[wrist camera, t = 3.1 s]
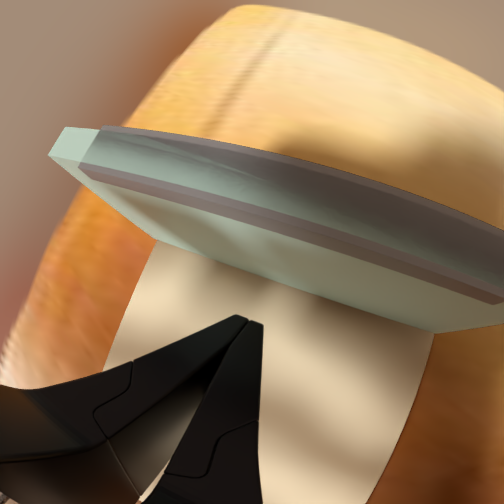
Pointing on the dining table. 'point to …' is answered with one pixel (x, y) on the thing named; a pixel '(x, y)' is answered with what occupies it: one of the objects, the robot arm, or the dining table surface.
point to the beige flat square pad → (291, 371)
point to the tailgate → (298, 224)
